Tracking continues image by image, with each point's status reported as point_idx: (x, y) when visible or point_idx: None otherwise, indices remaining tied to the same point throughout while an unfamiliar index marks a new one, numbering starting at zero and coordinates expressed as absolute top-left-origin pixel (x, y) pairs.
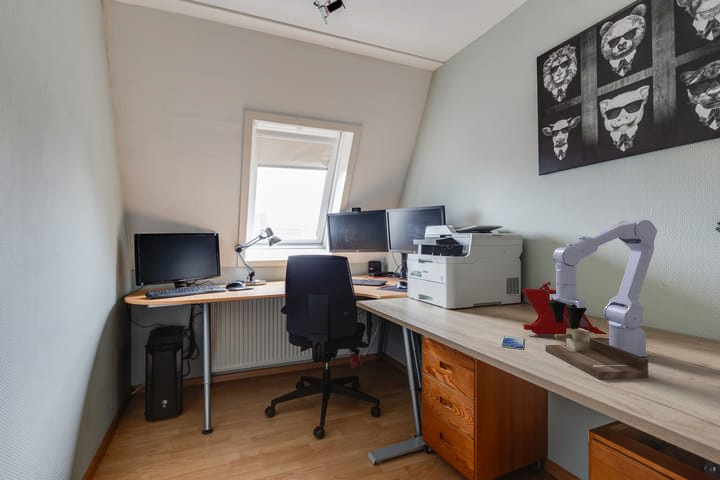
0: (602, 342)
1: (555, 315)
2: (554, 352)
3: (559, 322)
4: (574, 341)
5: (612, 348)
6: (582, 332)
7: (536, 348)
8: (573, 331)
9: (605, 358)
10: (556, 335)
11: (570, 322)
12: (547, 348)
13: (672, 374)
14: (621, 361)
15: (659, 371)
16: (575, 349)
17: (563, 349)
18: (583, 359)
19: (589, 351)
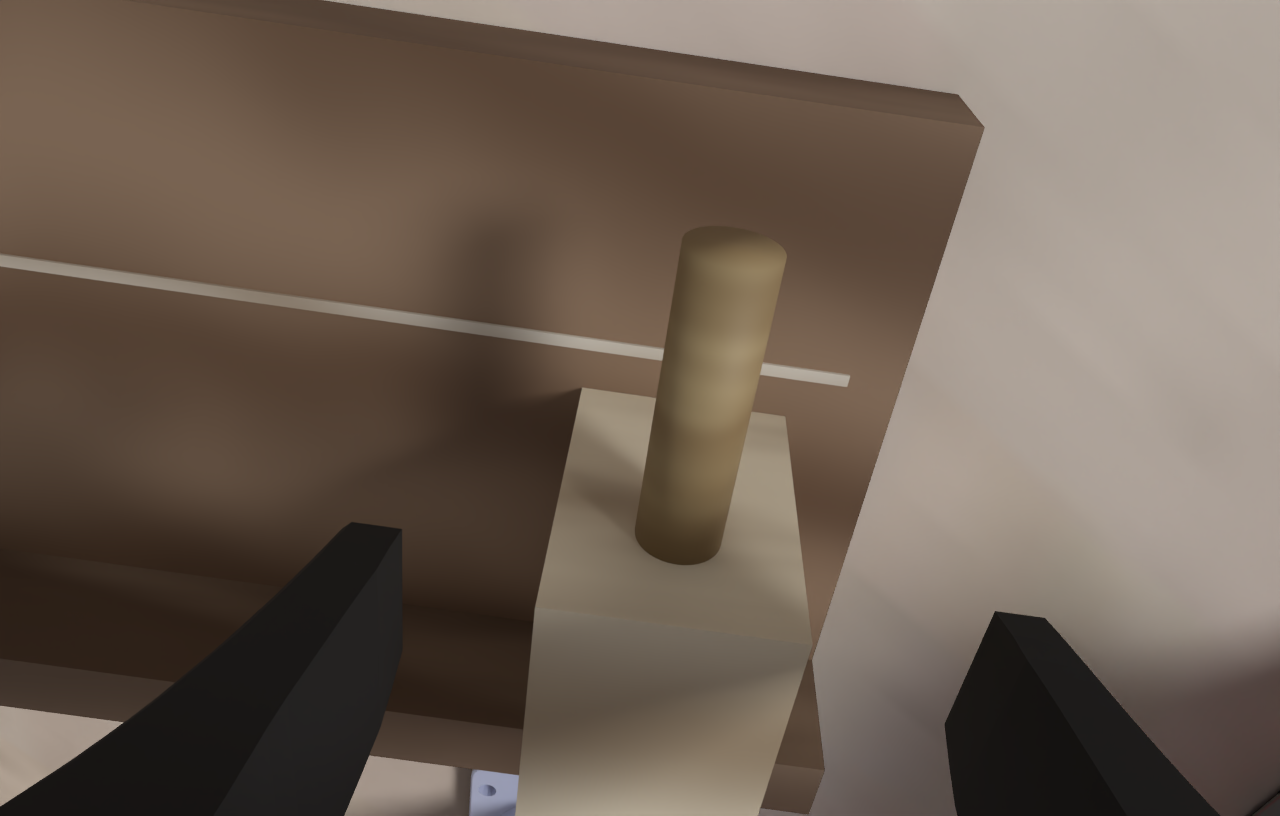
0: (428, 753)
1: (1093, 786)
2: (691, 70)
3: (972, 682)
4: (567, 473)
5: (173, 674)
6: (525, 711)
7: (1155, 42)
8: (575, 607)
9: (198, 490)
10: (706, 254)
11: (288, 622)
12: (909, 103)
13: (15, 750)
14: (79, 560)
15: (82, 727)
16: (580, 407)
17: (658, 252)
18: (127, 164)
19: (499, 530)
